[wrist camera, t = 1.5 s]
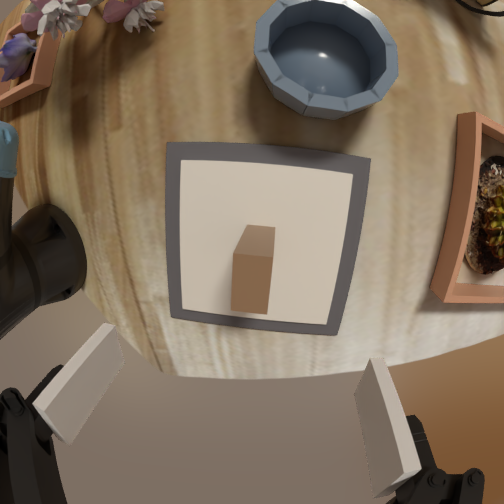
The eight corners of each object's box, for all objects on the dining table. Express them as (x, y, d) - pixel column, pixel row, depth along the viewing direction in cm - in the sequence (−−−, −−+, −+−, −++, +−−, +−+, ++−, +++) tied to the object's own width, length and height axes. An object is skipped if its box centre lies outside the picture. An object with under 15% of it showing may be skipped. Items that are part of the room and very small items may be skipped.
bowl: (255, 112, 26) (249, 100, 20) (263, 13, 21) (259, -13, 16) (375, 128, 25) (397, 123, 19) (375, 30, 20) (392, 9, 15)
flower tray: (4, 107, 26) (-12, 107, 23) (20, 34, 21) (7, 31, 17) (50, 86, 25) (32, 83, 22) (71, 3, 20) (57, -4, 16)
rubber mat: (172, 314, 35) (170, 316, 35) (168, 142, 28) (166, 142, 27) (336, 333, 33) (337, 335, 33) (369, 158, 26) (370, 158, 26)
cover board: (184, 306, 34) (155, 353, 25) (182, 160, 28) (141, 163, 19) (325, 321, 32) (337, 375, 23) (351, 173, 26) (384, 182, 17)
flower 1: (39, 12, 15) (-13, 43, 13) (43, 58, 21) (-8, 87, 18) (54, 19, 21) (8, 43, 19) (58, 58, 27) (13, 81, 25)
